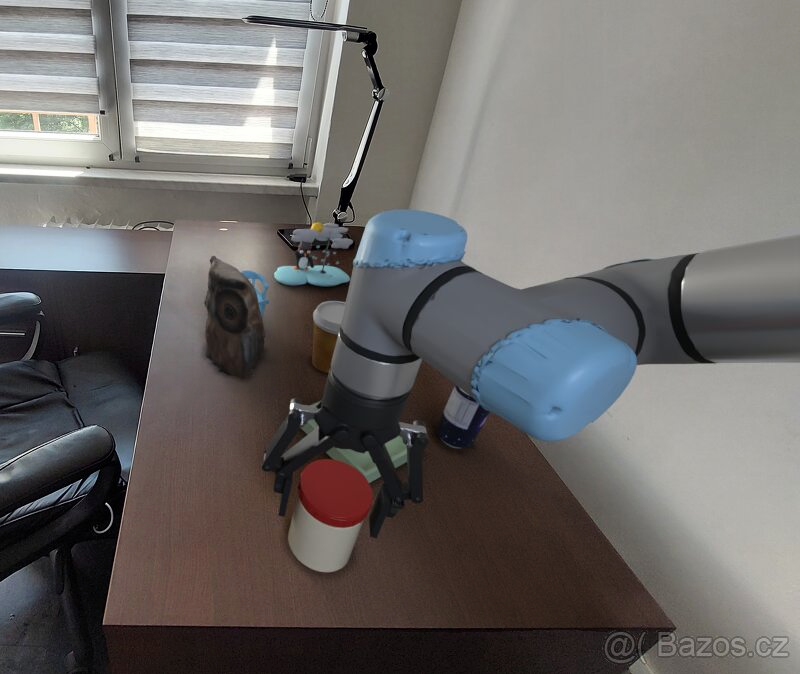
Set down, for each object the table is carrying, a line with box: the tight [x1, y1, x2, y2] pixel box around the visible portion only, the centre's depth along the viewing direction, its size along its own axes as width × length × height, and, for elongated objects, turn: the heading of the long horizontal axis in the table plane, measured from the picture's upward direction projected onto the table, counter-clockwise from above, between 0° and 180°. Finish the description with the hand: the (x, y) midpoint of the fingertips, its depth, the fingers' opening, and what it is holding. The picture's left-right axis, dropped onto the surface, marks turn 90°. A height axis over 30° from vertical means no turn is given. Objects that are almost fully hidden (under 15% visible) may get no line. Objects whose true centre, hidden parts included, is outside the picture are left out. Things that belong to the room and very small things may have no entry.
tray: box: [300, 400, 407, 484], centre depth 74 cm, size 15×13×2 cm
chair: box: [240, 270, 270, 320], centre depth 99 cm, size 8×8×12 cm
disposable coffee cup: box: [311, 300, 346, 374], centre depth 88 cm, size 10×10×12 cm
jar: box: [287, 493, 365, 573], centre depth 56 cm, size 8×8×10 cm
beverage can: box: [435, 384, 491, 449], centre depth 72 cm, size 6×6×12 cm
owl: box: [204, 255, 266, 381], centre depth 86 cm, size 13×13×20 cm
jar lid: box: [296, 458, 374, 528], centre depth 53 cm, size 8×8×2 cm
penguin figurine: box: [273, 221, 354, 288], centre depth 117 cm, size 20×11×15 cm, turn 91°
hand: (326, 517), depth 56 cm, fingers open, 10 cm apart
